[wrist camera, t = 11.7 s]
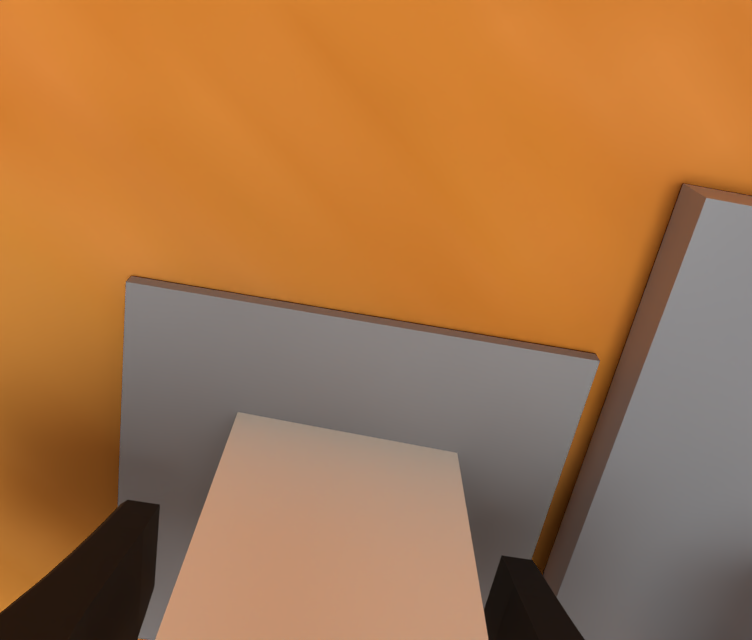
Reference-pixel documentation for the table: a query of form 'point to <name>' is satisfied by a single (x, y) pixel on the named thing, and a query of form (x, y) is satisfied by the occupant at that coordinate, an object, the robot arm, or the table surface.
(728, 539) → the panel
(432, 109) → the table surface
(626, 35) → the table surface
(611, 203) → the table surface
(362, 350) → the mat
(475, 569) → the white rectangular block
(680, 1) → the table surface
